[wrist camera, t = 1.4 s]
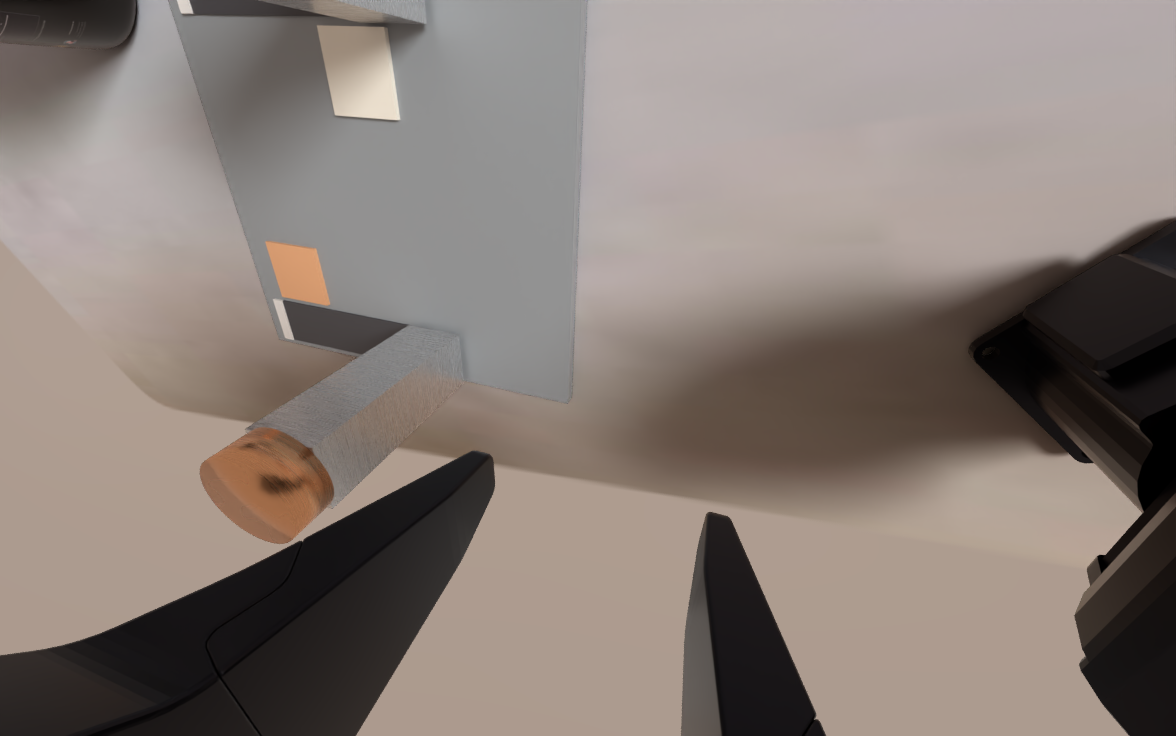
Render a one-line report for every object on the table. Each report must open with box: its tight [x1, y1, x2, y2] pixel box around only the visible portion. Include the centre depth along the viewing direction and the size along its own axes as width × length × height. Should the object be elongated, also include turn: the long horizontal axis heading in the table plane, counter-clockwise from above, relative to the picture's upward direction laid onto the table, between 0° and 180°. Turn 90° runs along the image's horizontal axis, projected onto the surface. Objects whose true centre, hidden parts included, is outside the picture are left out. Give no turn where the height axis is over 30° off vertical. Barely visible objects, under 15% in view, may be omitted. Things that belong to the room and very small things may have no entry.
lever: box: [200, 325, 464, 544], centre depth 19 cm, size 4×4×11 cm
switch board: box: [168, 0, 587, 404], centre depth 20 cm, size 18×18×1 cm
